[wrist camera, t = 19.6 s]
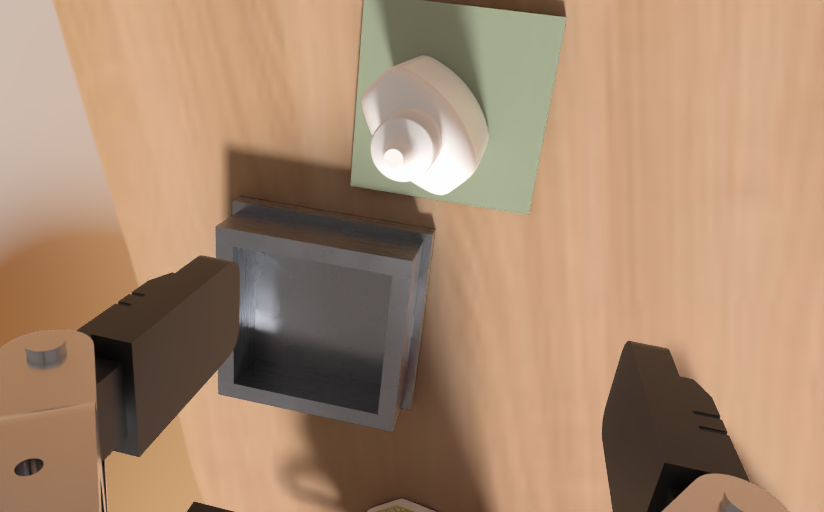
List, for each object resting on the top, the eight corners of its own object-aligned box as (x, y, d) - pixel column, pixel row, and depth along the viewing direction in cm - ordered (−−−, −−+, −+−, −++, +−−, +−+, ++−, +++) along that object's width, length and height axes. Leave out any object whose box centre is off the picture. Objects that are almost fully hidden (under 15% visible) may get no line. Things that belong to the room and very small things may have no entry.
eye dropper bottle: (477, 44, 30) (441, 62, 20) (492, 155, 32) (468, 228, 21) (392, 60, 32) (314, 85, 21) (412, 166, 33) (350, 242, 22)
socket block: (239, 196, 37) (206, 216, 33) (435, 229, 35) (423, 254, 32) (239, 365, 42) (211, 399, 38) (412, 401, 40) (400, 440, 36)
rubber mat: (368, -7, 31) (364, -7, 31) (566, 17, 30) (566, 17, 29) (354, 182, 35) (350, 186, 34) (528, 210, 34) (528, 214, 33)
